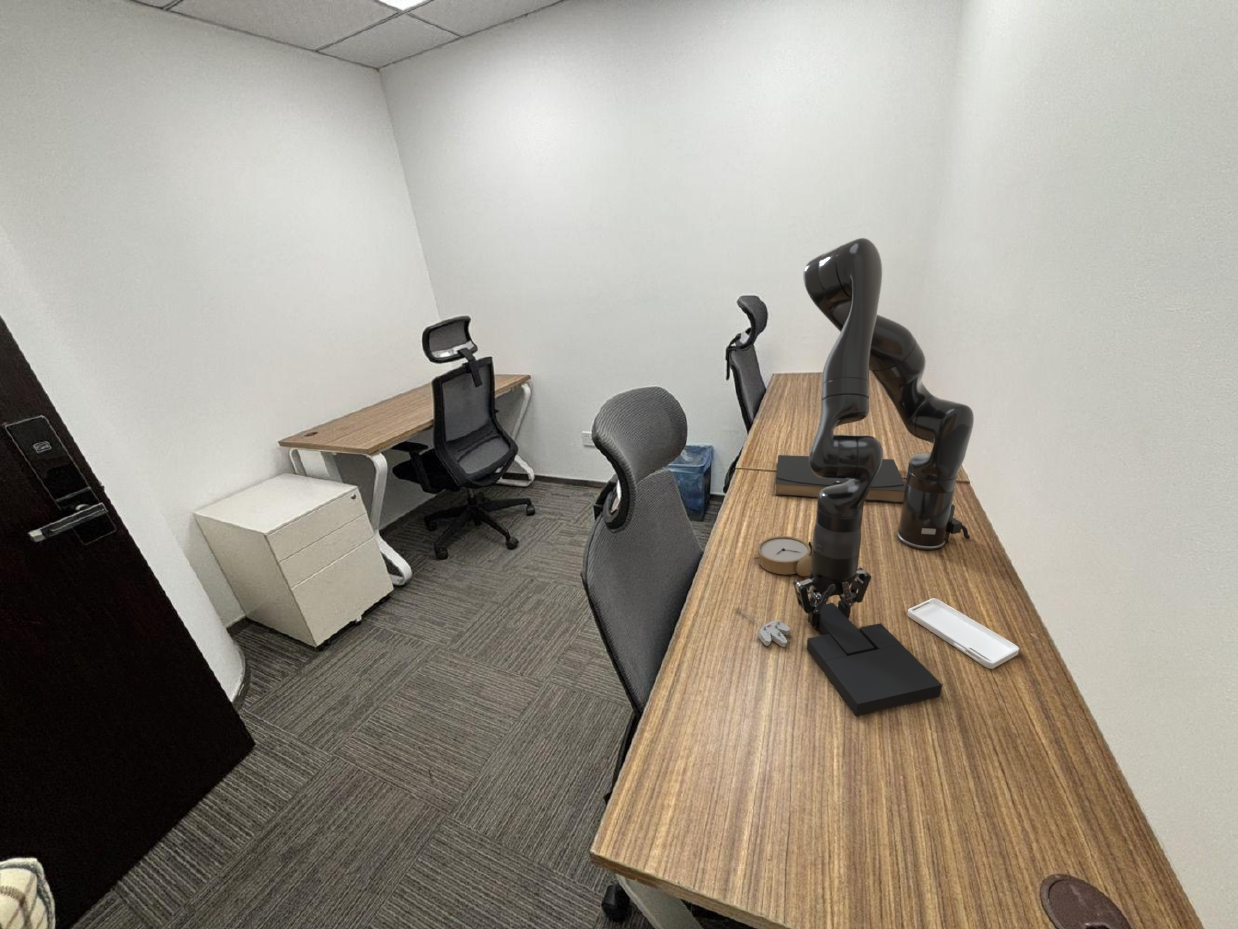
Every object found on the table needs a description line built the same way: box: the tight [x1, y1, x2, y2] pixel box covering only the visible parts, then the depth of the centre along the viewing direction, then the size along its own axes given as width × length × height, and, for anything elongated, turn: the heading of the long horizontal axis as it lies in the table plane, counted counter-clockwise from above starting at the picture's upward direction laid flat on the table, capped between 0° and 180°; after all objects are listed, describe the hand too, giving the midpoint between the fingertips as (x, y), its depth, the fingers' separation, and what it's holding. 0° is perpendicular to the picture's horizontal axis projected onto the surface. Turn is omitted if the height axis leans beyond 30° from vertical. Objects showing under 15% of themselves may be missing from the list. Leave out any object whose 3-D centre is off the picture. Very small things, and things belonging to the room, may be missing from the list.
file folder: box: [774, 454, 906, 504], centre depth 143 cm, size 33×4×24 cm
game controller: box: [739, 609, 790, 648], centre depth 90 cm, size 6×12×3 cm, turn 49°
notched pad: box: [806, 622, 943, 717], centre depth 79 cm, size 14×14×2 cm
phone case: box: [907, 597, 1020, 670], centre depth 85 cm, size 7×1×15 cm
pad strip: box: [817, 602, 874, 656], centre depth 87 cm, size 12×5×2 cm, turn 10°
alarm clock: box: [753, 535, 813, 577], centre depth 108 cm, size 11×5×15 cm
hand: (827, 622), depth 90 cm, fingers closed on pad strip, 5 cm apart
